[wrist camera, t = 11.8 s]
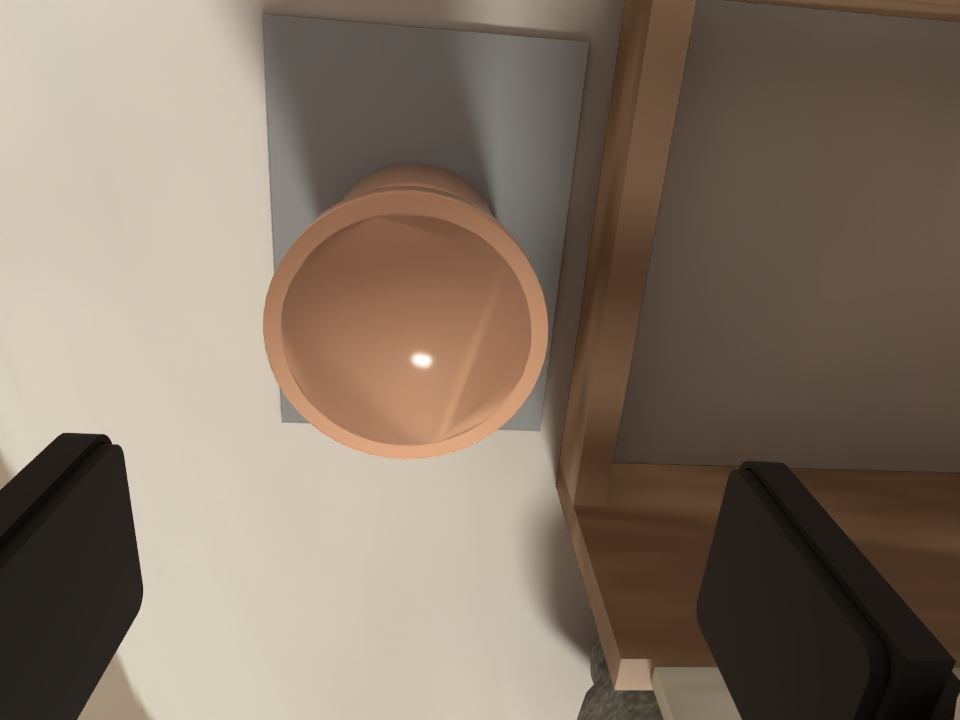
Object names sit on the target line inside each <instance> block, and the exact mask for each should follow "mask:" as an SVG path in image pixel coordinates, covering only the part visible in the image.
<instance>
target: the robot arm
mask: <svg viewBox="0 0 960 720" xmlns="http://www.w3.org/2000/svg"><path fill="white" fill-rule="evenodd" d="M142 598H143V583H142V576H141V569H140V562H139V556H138V549H137V542H136V535H135V528H134V521H133V514H132V508H131V501H130V494H129V487H128V480H127V473H126V467H125V460H124V454H123V450H122V448H121V446H119V445H113V444H112V442H111V440H110V439H109V437H108V436H106V435H105V434H81V433H63V434H61V435H59V436H58V437H57V438H56V439H55V440H54V441H52V442H51V443H50V444H49V445H48V446H47V447H46V448H45V449H44V450H43V451H42V452H41V453H40V454H39V455H37V456H36V457H35V458H34V459H33V460H32V461H31V462H30V463H29V464H28V465H27V466H26V467H25V468H23V469H22V470H21V471H20V472H19V473H18V474H17V475H16V476H15V477H14V478H13V479H12V480H11V481H10V482H9V483H7V485H5V486H4V487H3V488H2V489H1V490H0V720H77V719H78V717H79V715H80V713H81V712H82V710H83V708H84V706H85V705H86V703H87V701H88V699H89V698H90V696H91V694H92V692H93V691H94V689H95V687H96V686H97V684H98V682H99V680H100V679H101V677H102V675H103V673H104V671H105V670H106V668H107V666H108V665H109V663H110V661H111V659H112V658H113V656H114V654H115V652H116V651H117V649H118V647H119V645H120V644H121V642H122V640H123V638H124V637H125V635H126V633H127V631H128V630H129V628H130V626H131V624H132V623H133V621H134V619H135V617H136V616H137V614H138V612H139V610H140V606H141V603H142ZM696 612H697V620H698V624H699V627H700V629H701V631H702V634H703V636H704V638H705V640H706V642H707V644H708V647H709V649H710V651H711V653H712V655H713V658H714V660H715V662H716V664H717V666H718V669H719V671H720V673H721V675H722V677H723V679H724V682H725V684H726V686H727V688H728V690H729V693H730V695H731V697H732V699H733V701H734V704H735V706H736V708H737V710H738V712H739V714H740V717H741V719H742V720H960V680H959V679H958V678H957V676H956V675H955V674H954V673H953V672H952V670H953V668H954V665H955V663H956V660H955V659H954V658H953V657H952V656H951V655H950V653H949V652H948V651H947V650H946V649H945V648H944V647H943V645H942V644H941V643H940V642H939V641H938V640H937V638H936V637H935V636H934V635H933V634H932V633H931V632H930V630H929V629H928V628H927V627H926V626H925V625H924V623H923V622H922V621H921V620H920V619H919V618H918V617H917V615H916V614H915V613H914V612H913V611H912V610H911V608H910V607H909V606H908V605H907V604H906V603H905V602H904V600H903V599H902V598H901V597H900V596H899V595H898V594H897V592H896V591H895V590H894V589H893V588H892V587H891V585H890V584H889V583H888V582H887V581H886V580H885V579H884V577H883V576H882V575H881V574H880V573H879V572H878V570H877V569H876V568H875V567H874V566H873V565H872V564H871V562H870V561H869V560H868V559H867V558H866V557H865V555H864V554H863V553H862V552H861V551H860V550H859V549H858V547H857V546H856V545H855V544H854V543H853V542H852V541H851V539H850V538H849V537H848V536H847V535H846V534H845V532H844V531H843V530H842V529H841V528H840V527H839V526H838V524H837V523H836V522H835V521H834V520H833V519H832V517H831V516H830V515H829V514H828V513H827V512H826V511H825V509H824V508H823V507H822V506H821V505H820V504H819V502H818V501H817V500H816V499H815V498H814V497H813V496H812V494H811V493H810V492H809V491H808V490H807V489H806V488H805V486H804V485H803V484H802V483H801V482H800V481H799V479H798V478H797V477H796V476H795V475H794V474H793V473H792V471H791V470H790V469H789V468H788V467H787V466H786V465H785V464H783V463H779V462H755V461H746V462H744V463H743V464H742V465H741V466H740V468H739V470H733V471H731V473H730V474H729V476H728V479H727V483H726V487H725V491H724V495H723V499H722V503H721V507H720V511H719V515H718V519H717V523H716V527H715V532H714V536H713V540H712V544H711V548H710V552H709V556H708V560H707V564H706V568H705V572H704V576H703V580H702V584H701V588H700V592H699V596H698V600H697V607H696Z"/></svg>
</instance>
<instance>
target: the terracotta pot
mask: <svg viewBox="0 0 960 720" xmlns="http://www.w3.org/2000/svg"><path fill="white" fill-rule="evenodd" d="M263 334H264V342H265V349H266V353H267V356H268V360H269V364H270V367H271V369H272V371H273V374H274V376H275V378H276V381H277V383H278V384H279V386H280V388H281V389H282V391H283V393H284V394H285V396H286V397H287V399H288V400H289V401H290V403H291V404H292V405H293V406H294V408H295V409H296V410H297V411H298V412H299V413H300V414H301V415H302V416H303V417H304V418H305V419H306V420H307V421H308V422H309V423H310V424H312V425H313V426H314V427H315V428H317V429H318V430H319V431H321V432H322V433H323V434H325V435H327V436H328V437H330V438H332V439H334V440H335V441H337V442H339V443H341V444H343V445H346V446H348V447H350V448H352V449H355V450H358V451H361V452H364V453H368V454H371V455H376V456H381V457H386V458H398V459H421V458H428V457H435V456H440V455H444V454H448V453H452V452H455V451H458V450H461V449H463V448H466V447H468V446H471V445H473V444H475V443H476V442H478V441H480V440H482V439H484V438H486V437H487V436H489V435H490V434H492V433H493V432H494V431H496V430H497V429H499V428H500V427H501V426H502V425H503V424H504V423H506V422H507V421H508V420H509V419H510V418H511V417H512V416H513V415H514V414H515V413H516V411H517V410H518V409H519V408H520V407H521V406H522V405H523V403H524V402H525V400H526V399H527V397H528V396H529V394H530V393H531V391H532V389H533V387H534V385H535V383H536V381H537V379H538V377H539V374H540V371H541V369H542V366H543V363H544V359H545V354H546V349H547V341H548V319H547V309H546V305H545V300H544V296H543V292H542V290H541V287H540V284H539V282H538V279H537V277H536V274H535V272H534V270H533V268H532V266H531V264H530V262H529V260H528V258H527V257H526V255H525V253H524V251H523V249H522V248H521V246H520V245H519V244H518V242H517V241H516V240H515V238H514V237H513V236H512V234H511V233H510V232H509V231H508V230H507V229H506V228H505V227H504V226H503V225H502V224H501V223H500V222H499V221H498V220H497V219H496V218H495V217H494V215H493V212H492V211H491V209H490V207H489V205H488V203H487V202H486V201H485V199H484V198H483V197H482V195H481V194H480V193H479V192H478V191H477V190H476V189H475V188H474V187H473V186H472V185H471V184H469V183H468V182H467V181H466V180H464V179H463V178H461V177H460V176H458V175H456V174H455V173H453V172H451V171H448V170H446V169H444V168H441V167H437V166H433V165H429V164H422V163H403V164H396V165H392V166H388V167H384V168H382V169H379V170H377V171H375V172H373V173H371V174H369V175H368V176H366V177H364V178H363V179H361V180H360V181H359V182H358V183H356V184H355V185H354V186H353V187H352V188H351V189H350V190H349V191H348V192H347V193H346V195H345V196H344V198H343V199H342V200H341V201H340V202H339V203H337V204H335V205H334V206H332V207H330V208H329V209H327V210H325V211H324V212H323V213H322V214H321V215H319V216H318V217H317V218H316V219H314V220H313V221H312V222H311V223H310V224H309V225H308V226H307V227H306V229H305V230H304V231H303V232H302V233H301V234H300V235H299V236H298V238H297V239H296V240H295V242H294V243H293V244H292V246H291V247H290V249H289V250H288V251H287V253H286V254H285V256H284V257H283V259H282V260H281V262H280V263H279V265H278V267H277V270H276V272H275V274H274V276H273V278H272V280H271V283H270V286H269V290H268V293H267V296H266V302H265V308H264V314H263Z"/></svg>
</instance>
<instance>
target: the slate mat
mask: <svg viewBox="0 0 960 720" xmlns="http://www.w3.org/2000/svg"><path fill="white" fill-rule="evenodd" d="M262 16H263V36H264V57H265V77H266V98H267V119H268V139H269V160H270V181H271V201H272V222H273V243H274V263H275V272H276V270H277V267H278V265H279V263H280V262H281V260H282V259H283V257H284V256H285V254H286V253H287V251H288V250H289V249H290V247H291V246H292V244H293V243H294V242H295V240H296V239H297V238H298V236H299V235H300V234H301V233H302V232H303V231H304V230H305V229H306V227H307V226H308V225H309V224H310V223H311V222H312V221H313V220H314V219H316V218H317V217H318V216H319V215H321V214H322V213H323V212H324V211H325V210H327V209H329V208H330V207H332V206H334V205H335V204H337V203H339V202H340V201H341V200H342V199H343V198H344V196H345V195H346V193H347V192H348V191H349V190H350V189H351V188H352V187H353V186H354V185H355V184H356V183H358V182H359V181H360V180H361V179H363V178H364V177H366V176H368V175H369V174H371V173H373V172H375V171H377V170H379V169H382V168H384V167H388V166H392V165H396V164H403V163H422V164H429V165H433V166H437V167H441V168H444V169H446V170H448V171H451V172H453V173H455V174H456V175H458V176H460V177H461V178H463V179H464V180H466V181H467V182H468V183H469V184H471V185H472V186H473V187H474V188H475V189H476V190H477V191H478V192H479V193H480V194H481V195H482V197H483V198H484V199H485V201H486V202H487V203H488V205H489V207H490V209H491V211H492V212H493V215H494V217H495V218H496V219H497V220H498V221H499V222H500V223H501V224H502V225H503V226H504V227H505V228H506V229H507V230H508V231H509V232H510V233H511V234H512V236H513V237H514V238H515V240H516V241H517V242H518V244H519V245H520V246H521V248H522V249H523V251H524V253H525V255H526V257H527V258H528V260H529V262H530V264H531V266H532V268H533V270H534V272H535V274H536V277H537V279H538V282H539V284H540V287H541V290H542V292H543V296H544V300H545V305H546V309H547V319H548V341H547V349H546V354H545V359H544V363H543V366H542V369H541V371H540V374H539V377H538V379H537V381H536V383H535V385H534V387H533V389H532V391H531V393H530V394H529V396H528V397H527V399H526V400H525V402H524V403H523V405H522V406H521V407H520V408H519V409H518V410H517V411H516V413H515V414H514V415H513V416H512V417H511V418H510V419H509V420H508V421H507V422H506V423H504V424H503V425H502V426H501V427H500V428H499V429H497V430H523V431H540V428H541V420H542V412H543V404H544V396H545V388H546V380H547V372H548V365H549V357H550V349H551V341H552V333H553V325H554V317H555V309H556V301H557V294H558V286H559V278H560V270H561V262H562V254H563V246H564V238H565V231H566V223H567V215H568V207H569V199H570V191H571V183H572V175H573V168H574V160H575V152H576V144H577V136H578V128H579V120H580V112H581V105H582V97H583V89H584V81H585V73H586V65H587V57H588V49H589V42H584V41H572V40H561V39H549V38H537V37H526V36H514V35H502V34H491V33H479V32H467V31H455V30H444V29H432V28H420V27H409V26H397V25H385V24H374V23H362V22H350V21H338V20H327V19H315V18H303V17H292V16H280V15H268V14H262ZM281 408H282V422H285V423H309V422H308V421H307V420H306V419H305V418H304V417H303V416H302V415H301V414H300V413H299V412H298V411H297V410H296V409H295V408H294V406H293V405H292V404H291V403H290V401H289V400H288V399H287V397H286V396H285V394H284V393H283V391H282V389H281Z"/></svg>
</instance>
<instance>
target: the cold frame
mask: <svg viewBox="0 0 960 720" xmlns="http://www.w3.org/2000/svg"><path fill="white" fill-rule="evenodd" d="M727 1H738V2H749V3H759V4H770V5H781V6H792V7H803V8H813V9H824V10H835V11H846V12H856V13H867V14H878V15H889V16H900V17H910V18H921V19H932V20H943V21H954V22H960V0H727ZM695 6H696V0H625V7H624V14H623V21H622V28H621V35H620V42H619V49H618V56H617V63H616V70H615V77H614V84H613V91H612V98H611V105H610V112H609V119H608V126H607V133H606V140H605V147H604V154H603V160H602V167H601V174H600V181H599V188H598V195H597V202H596V209H595V216H594V223H593V230H592V237H591V244H590V251H589V258H588V265H587V272H586V279H585V286H584V293H583V300H582V307H581V314H580V321H579V328H578V335H577V342H576V349H575V356H574V363H573V370H572V377H571V384H570V391H569V398H568V405H567V412H566V419H565V426H564V433H563V440H562V447H561V454H560V461H559V468H558V475H557V482H556V488H557V491H558V495H559V498H560V502H561V505H562V509H563V512H564V516H565V519H566V523H567V526H568V530H569V533H570V537H571V540H572V544H573V547H574V551H575V554H576V558H577V561H578V565H579V568H580V572H581V575H582V579H583V582H584V586H585V589H586V593H587V596H588V600H589V603H590V607H591V610H592V614H593V617H594V621H595V624H596V627H597V631H598V634H599V638H600V641H601V645H602V648H603V652H604V655H605V659H606V662H607V666H608V669H609V673H610V676H611V680H612V683H613V687H614V690H654V693H655V696H656V699H657V702H658V705H659V707H660V710H661V713H662V716H663V719H664V720H742V719H741V717H740V714H739V712H738V710H737V708H736V706H735V704H734V701H733V699H732V697H731V695H730V693H729V690H728V688H727V686H726V684H725V682H724V679H723V677H722V675H721V673H720V671H719V669H718V666H717V664H716V662H715V660H714V658H713V655H712V653H711V651H710V649H709V647H708V644H707V642H706V640H705V638H704V636H703V634H702V631H701V629H700V627H699V624H698V620H697V612H696V607H697V600H698V596H699V592H700V588H701V584H702V580H703V576H704V572H705V568H706V564H707V560H708V556H709V552H710V548H711V544H712V540H713V536H714V532H715V527H716V523H717V519H718V515H719V511H720V507H721V503H722V499H723V495H724V491H725V487H726V483H727V479H728V476H729V474H730V473H731V471H733V470H739V468H740V467H733V466H699V465H665V464H632V463H613V460H614V455H615V449H616V443H617V438H618V432H619V427H620V421H621V416H622V410H623V405H624V399H625V394H626V388H627V382H628V377H629V371H630V366H631V360H632V355H633V349H634V344H635V338H636V333H637V327H638V322H639V316H640V310H641V305H642V299H643V294H644V288H645V283H646V277H647V272H648V266H649V261H650V255H651V250H652V244H653V238H654V233H655V227H656V222H657V216H658V211H659V205H660V200H661V194H662V189H663V183H664V178H665V172H666V166H667V161H668V155H669V150H670V144H671V139H672V133H673V128H674V122H675V117H676V111H677V106H678V100H679V94H680V89H681V83H682V78H683V72H684V67H685V61H686V56H687V50H688V45H689V39H690V33H691V28H692V22H693V17H694V11H695ZM789 469H790V470H791V471H792V473H793V474H794V475H795V476H796V477H797V478H798V479H799V481H800V482H801V483H802V484H803V485H804V486H805V488H806V489H807V490H808V491H809V492H810V493H811V494H812V496H813V497H814V498H815V499H816V500H817V501H818V502H819V504H820V505H821V506H822V507H823V508H824V509H825V511H826V512H827V513H828V514H829V515H830V516H831V517H832V519H833V520H834V521H835V522H836V523H837V524H838V526H839V527H840V528H841V529H842V530H843V531H844V532H845V534H846V535H847V536H848V537H849V538H850V539H851V541H852V542H853V543H854V544H855V545H856V546H857V547H858V549H859V550H860V551H861V552H862V553H863V554H864V555H865V557H866V558H867V559H868V560H869V561H870V562H871V564H872V565H873V566H874V567H875V568H876V569H877V570H878V572H879V573H880V574H881V575H882V576H883V577H884V579H885V580H886V581H887V582H888V583H889V584H890V585H891V587H892V588H893V589H894V590H895V591H896V592H897V594H898V595H899V596H900V597H901V598H902V599H903V600H904V602H905V603H906V604H907V605H908V606H909V607H910V608H911V610H912V611H913V612H914V613H915V614H916V615H917V617H918V618H919V619H920V620H921V621H922V622H923V623H924V625H925V626H926V627H927V628H928V629H929V630H930V632H931V633H932V634H933V635H934V636H935V637H936V638H937V640H938V641H939V642H940V643H941V644H942V645H943V647H944V648H945V649H946V650H947V651H948V652H949V653H950V655H951V656H952V657H953V658H954V659H955V660H956V663H955V665H954V668H953V670H952V672H953V673H954V674H955V675H956V676H957V678H958V679H959V680H960V473H934V472H901V471H867V470H833V469H800V468H789Z"/></svg>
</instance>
